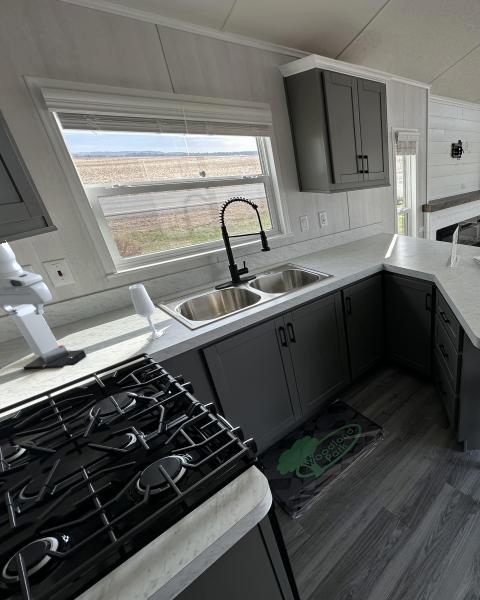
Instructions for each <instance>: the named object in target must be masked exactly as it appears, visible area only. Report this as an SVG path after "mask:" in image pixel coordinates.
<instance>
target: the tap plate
mask: <svg viewBox="0 0 480 600" xmlns="http://www.w3.org/2000/svg"><path fill="white" fill-rule="evenodd" d="M67 351H68V354H66V355H64V356H62V357H60V358H58V359H56V360H54V361H51V362H49V363H44V361H43V360H42V358H41V356H38V357H37V358H35V359H33V360H32V361H31V362H29V363H27V364H25V365H24V366H23V367H22V369H23V370H25V371H27V370H43V369H44V370H48V369H64V367H69V366H75V365H77V364H78V363H79V362H81V361H82V360H83V359H85V358H86V357H87V354H86V352H85V350H84V349H81V350H80V349H78V350H77V349H76V350H70V349H67Z"/></svg>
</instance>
